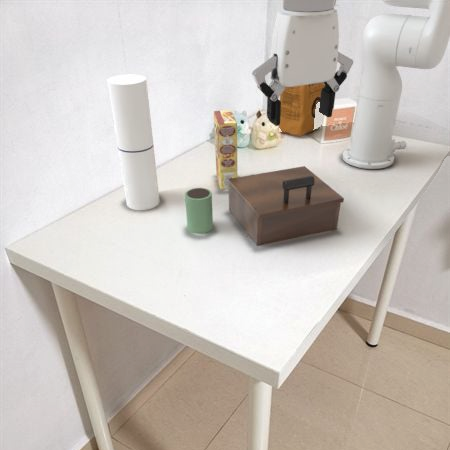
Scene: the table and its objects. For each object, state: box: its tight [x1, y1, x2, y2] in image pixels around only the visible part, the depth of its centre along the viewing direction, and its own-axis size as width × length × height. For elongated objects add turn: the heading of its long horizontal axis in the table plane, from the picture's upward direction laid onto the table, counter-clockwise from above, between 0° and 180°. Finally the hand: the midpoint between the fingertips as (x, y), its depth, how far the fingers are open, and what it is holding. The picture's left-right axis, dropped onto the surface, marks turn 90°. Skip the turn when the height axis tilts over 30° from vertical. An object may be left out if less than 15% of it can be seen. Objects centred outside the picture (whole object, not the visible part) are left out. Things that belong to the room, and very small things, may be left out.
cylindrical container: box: [106, 73, 161, 211], centre depth 95 cm, size 7×7×25 cm
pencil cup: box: [184, 187, 214, 235], centre depth 90 cm, size 5×5×8 cm
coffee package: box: [278, 82, 325, 137], centre depth 129 cm, size 10×12×22 cm
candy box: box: [213, 109, 238, 190], centre depth 104 cm, size 9×4×15 cm, turn 8°
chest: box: [228, 183, 342, 247], centre depth 93 cm, size 15×17×7 cm
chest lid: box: [229, 165, 345, 218], centre depth 88 cm, size 16×17×5 cm
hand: (300, 118), depth 80 cm, fingers open, 9 cm apart
